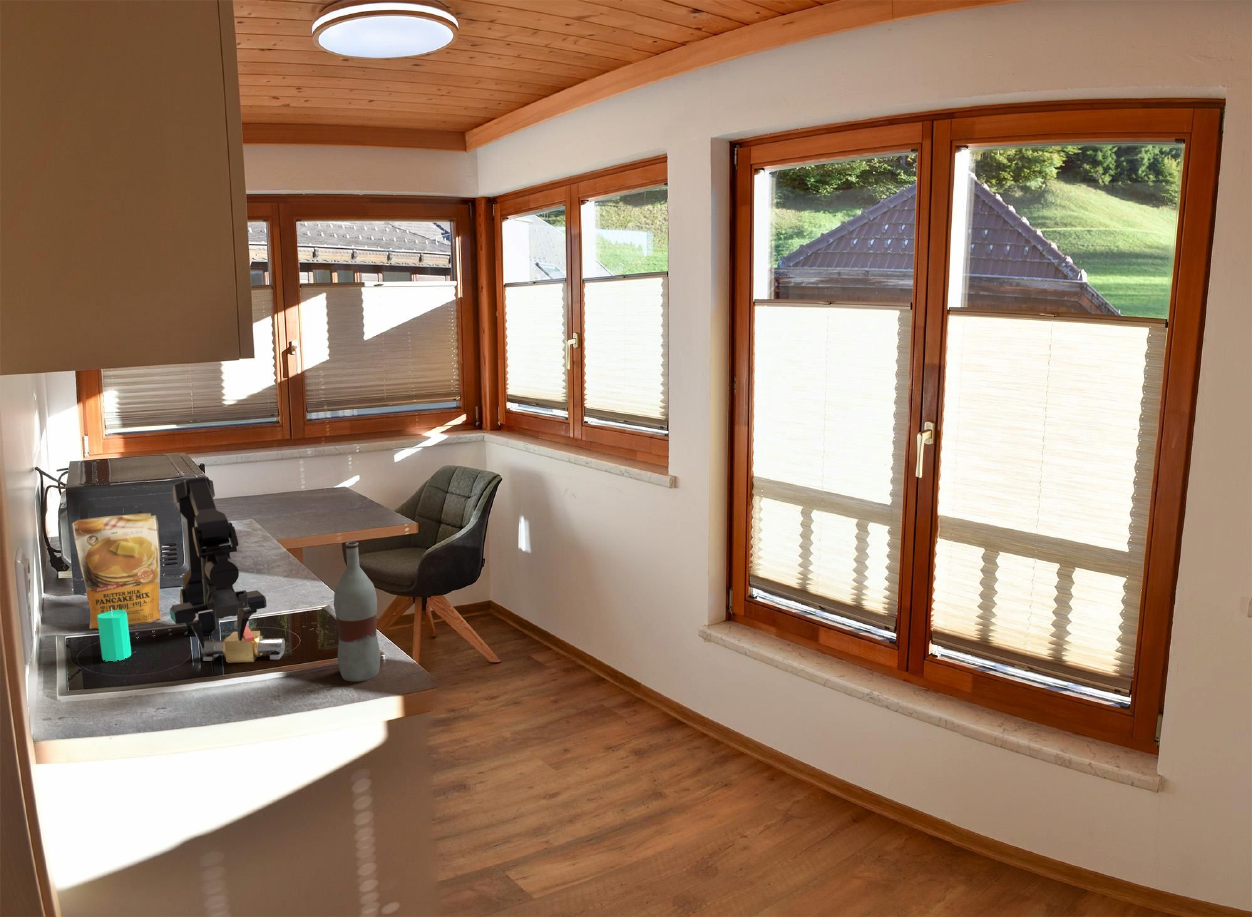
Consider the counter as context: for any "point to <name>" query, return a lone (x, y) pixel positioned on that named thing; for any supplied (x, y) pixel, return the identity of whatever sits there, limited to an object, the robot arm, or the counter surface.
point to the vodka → (356, 621)
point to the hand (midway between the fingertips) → (221, 643)
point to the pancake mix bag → (120, 565)
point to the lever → (246, 632)
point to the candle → (114, 635)
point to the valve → (243, 648)
